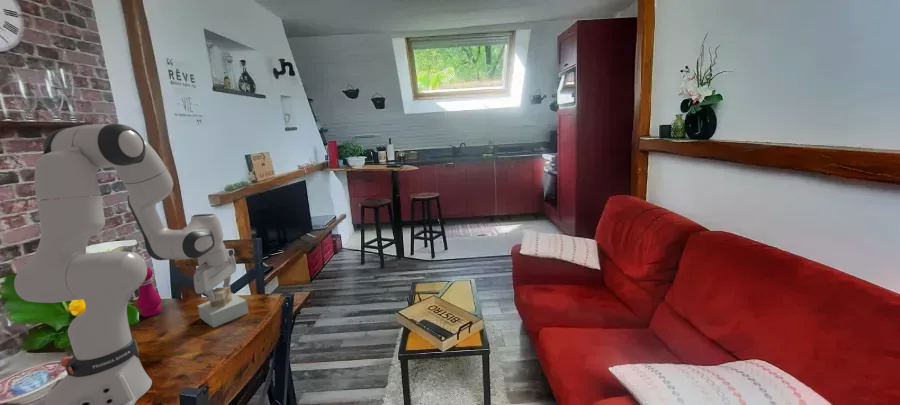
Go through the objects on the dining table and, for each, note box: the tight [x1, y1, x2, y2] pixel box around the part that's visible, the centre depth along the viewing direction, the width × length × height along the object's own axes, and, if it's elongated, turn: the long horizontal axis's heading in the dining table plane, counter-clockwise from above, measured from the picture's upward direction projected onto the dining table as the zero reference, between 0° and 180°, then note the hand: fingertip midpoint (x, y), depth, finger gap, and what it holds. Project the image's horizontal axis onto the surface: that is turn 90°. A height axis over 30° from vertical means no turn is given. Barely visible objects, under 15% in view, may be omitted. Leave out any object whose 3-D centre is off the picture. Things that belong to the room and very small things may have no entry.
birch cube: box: [210, 286, 233, 307], centre depth 140 cm, size 5×5×5 cm
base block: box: [197, 292, 250, 329], centre depth 141 cm, size 12×12×5 cm
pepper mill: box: [136, 266, 163, 318], centre depth 145 cm, size 7×7×20 cm
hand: (220, 294), depth 140 cm, fingers open, 8 cm apart
